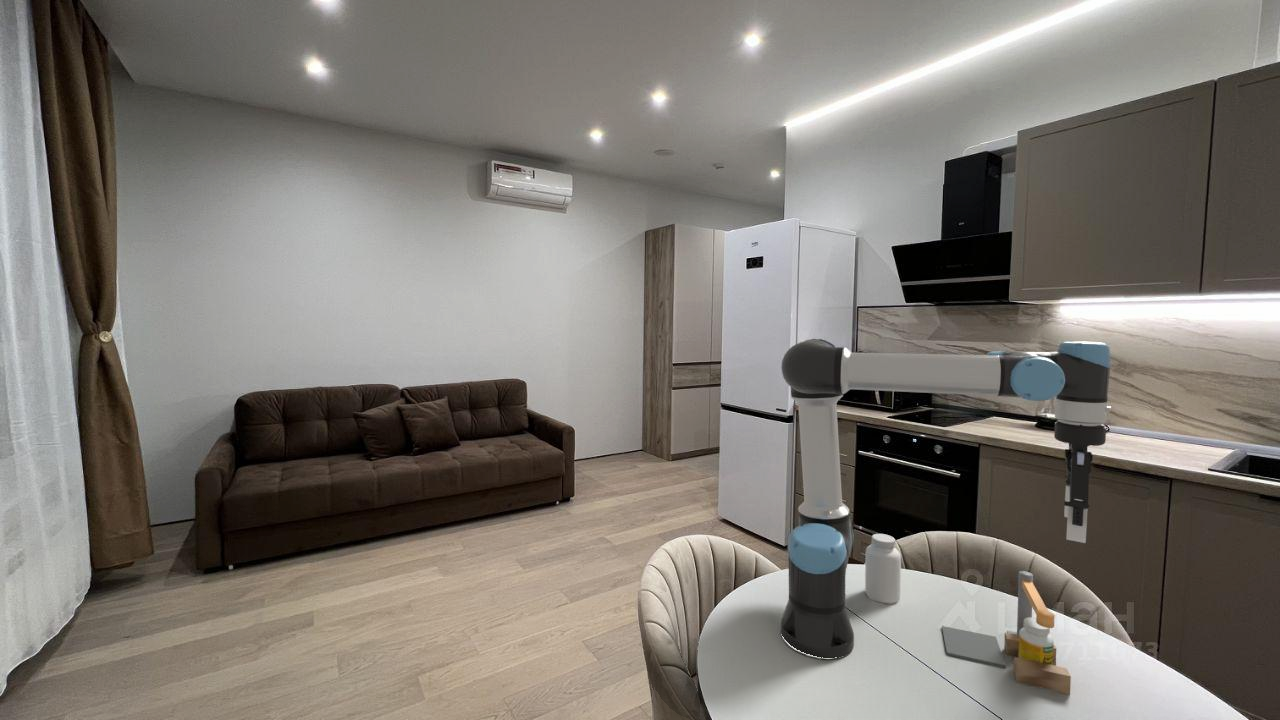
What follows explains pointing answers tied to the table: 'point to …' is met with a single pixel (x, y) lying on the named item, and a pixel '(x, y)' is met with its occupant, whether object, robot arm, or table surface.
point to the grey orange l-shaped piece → (1031, 603)
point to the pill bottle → (883, 569)
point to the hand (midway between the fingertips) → (1074, 528)
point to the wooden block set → (1036, 668)
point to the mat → (972, 646)
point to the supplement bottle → (1035, 642)
